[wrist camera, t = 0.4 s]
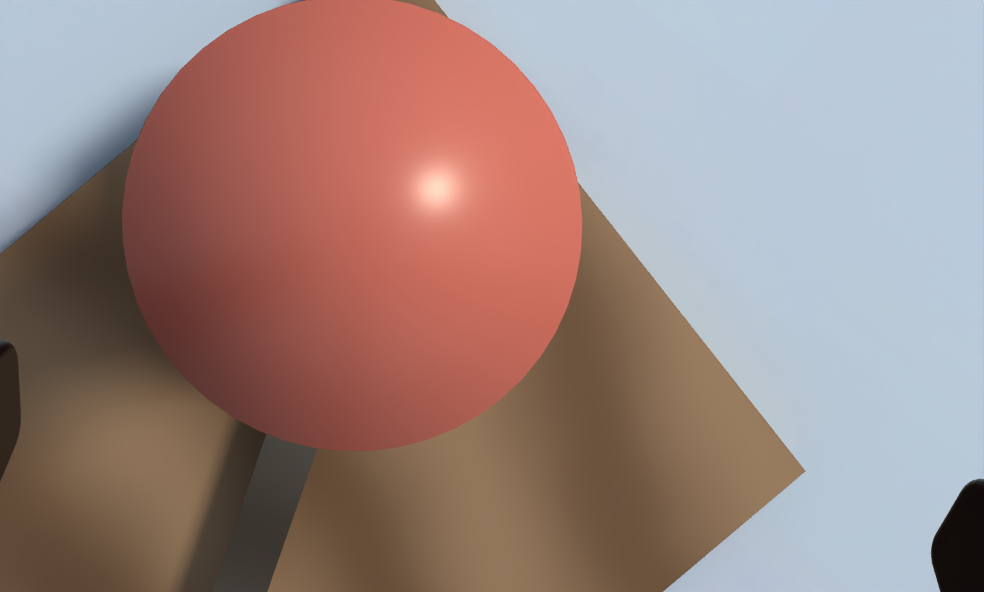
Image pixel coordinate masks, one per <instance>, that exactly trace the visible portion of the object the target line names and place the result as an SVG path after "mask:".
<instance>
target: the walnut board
mask: <svg viewBox="0 0 984 592" xmlns="http://www.w3.org/2000/svg"><path fill="white" fill-rule="evenodd" d="M304 1H305V0H304ZM394 1H399V2H405V3H409V4H412V5H415V6H418V7H421V8H424V9H427V10H430V11H433V12H436V13H439V14H441V15H443V16H445V17H447V16H446V14H445V13H444V12H443V10H442V9H441V8H440V7H439V5H438V4H437V3H436V2H435V0H394ZM447 18H448V17H447ZM136 142H137V140H136V141H135V142H134V143H133V144H132V145H131V146H129V147H128V148H127V149H126V150H125V151H123V152H122V153H121V154H120V155H119V156H117V157H116V158H115V159H114V160H113V161H111V162H110V163H109V164H108V165H107V166H105V167H104V168H103V169H102V170H101V171H99V172H98V173H97V174H96V175H95V176H93V177H92V178H91V179H90V180H89V181H87V182H86V183H85V184H84V185H83V186H81V187H80V188H79V189H78V190H77V191H75V192H74V193H73V194H72V195H71V196H69V197H68V198H67V199H66V200H65V201H63V202H62V203H61V204H60V205H59V206H57V207H56V208H55V209H54V210H53V211H51V212H50V213H49V214H48V215H47V216H45V217H44V218H43V219H42V220H41V221H39V222H38V223H37V224H36V225H35V226H33V227H32V228H31V229H30V230H29V231H27V232H26V233H25V234H24V235H23V236H21V237H20V238H19V239H18V240H17V241H16V242H14V243H13V244H12V245H11V246H10V247H8V248H7V249H6V250H5V251H4V252H2V253H1V254H0V340H6V341H9V342H10V343H11V344H12V345H13V346H14V347H15V349H16V352H17V355H18V367H19V386H20V405H21V425H20V431H19V436H18V440H17V443H16V446H15V448H14V451H13V453H12V455H11V458H10V460H9V463H8V465H7V467H6V470H5V472H4V475H3V477H2V479H1V482H0V592H663V591H664V590H665V589H667V588H668V587H669V586H670V585H671V584H672V583H674V582H675V581H676V580H677V579H678V578H680V577H681V576H682V575H683V574H684V573H686V572H687V571H688V570H689V569H690V568H691V567H693V566H694V565H695V564H696V563H697V562H699V561H700V560H701V559H702V558H703V557H704V556H706V555H707V554H708V553H709V552H710V551H712V550H713V549H714V548H715V547H716V546H717V545H719V544H720V543H721V542H722V541H723V540H725V539H726V538H727V537H728V536H729V535H731V534H732V533H733V532H734V531H735V530H736V529H738V528H739V527H740V526H741V525H742V524H744V523H745V522H746V521H747V520H748V519H749V518H751V517H752V516H753V515H754V514H755V513H757V512H758V511H759V510H760V509H761V508H762V507H764V506H765V505H766V504H767V503H768V502H770V501H771V500H772V499H773V498H774V497H776V496H777V495H778V494H779V493H780V492H781V491H783V490H784V489H785V488H786V487H787V486H789V485H790V484H791V483H792V482H793V481H794V480H796V479H797V478H798V477H799V476H800V475H802V474H803V473H804V472H805V470H804V469H803V467H802V466H801V465H800V464H799V462H798V461H797V460H796V458H795V457H794V456H793V455H792V453H791V452H790V451H789V450H788V448H787V447H786V446H785V445H784V443H783V442H782V441H781V439H780V438H779V437H778V436H777V434H776V433H775V432H774V431H773V429H772V428H771V427H770V425H769V424H768V423H767V422H766V420H765V419H764V418H763V417H762V415H761V414H760V413H759V412H758V410H757V409H756V408H755V406H754V405H753V404H752V403H751V401H750V400H749V399H748V398H747V396H746V395H745V394H744V392H743V391H742V390H741V389H740V387H739V386H738V385H737V384H736V382H735V381H734V380H733V379H732V377H731V376H730V375H729V373H728V372H727V371H726V370H725V368H724V367H723V366H722V365H721V363H720V362H719V361H718V360H717V358H716V357H715V356H714V354H713V353H712V352H711V351H710V349H709V348H708V347H707V346H706V344H705V343H704V342H703V340H702V339H701V338H700V337H699V335H698V334H697V333H696V332H695V330H694V329H693V328H692V327H691V325H690V324H689V323H688V321H687V320H686V319H685V318H684V316H683V315H682V314H681V313H680V311H679V310H678V309H677V307H676V306H675V305H674V304H673V302H672V301H671V300H670V299H669V297H668V296H667V295H666V294H665V292H664V291H663V290H662V288H661V287H660V286H659V285H658V283H657V282H656V281H655V280H654V278H653V277H652V276H651V274H650V273H649V272H648V271H647V269H646V268H645V267H644V266H643V264H642V263H641V262H640V261H639V259H638V258H637V257H636V255H635V254H634V253H633V252H632V250H631V249H630V248H629V247H628V245H627V244H626V243H625V241H624V240H623V239H622V238H621V236H620V235H619V234H618V233H617V231H616V230H615V229H614V228H613V226H612V225H611V224H610V222H609V221H608V220H607V219H606V217H605V216H604V215H603V214H602V212H601V211H600V210H599V208H598V207H597V206H596V205H595V203H594V202H593V201H592V200H591V198H590V197H589V196H588V195H587V193H586V192H585V191H584V189H583V188H582V187H581V186H580V184H579V183H578V186H579V191H580V199H581V211H582V242H581V254H580V260H579V266H578V271H577V277H576V281H575V284H574V287H573V291H572V294H571V297H570V300H569V304H568V307H567V309H566V311H565V313H564V315H563V318H562V320H561V322H560V324H559V326H558V329H557V331H556V333H555V334H554V336H553V338H552V339H551V341H550V342H549V344H548V346H547V347H546V349H545V350H544V352H543V354H542V355H541V357H540V358H539V359H538V360H537V362H536V363H535V364H534V365H533V367H532V368H531V369H530V370H529V371H528V373H527V374H526V375H525V376H524V378H523V379H522V380H521V381H520V382H519V383H518V384H516V385H515V386H514V387H513V388H512V389H511V390H510V391H509V392H508V393H507V394H506V395H505V396H504V397H503V398H502V399H500V400H499V401H498V402H496V403H495V404H494V405H492V406H491V407H489V408H488V409H487V410H485V411H484V412H483V413H481V414H480V415H478V416H477V417H475V418H473V419H471V420H469V421H468V422H466V423H464V424H462V425H460V426H459V427H457V428H455V429H453V430H450V431H448V432H445V433H443V434H441V435H438V436H436V437H433V438H431V439H428V440H425V441H421V442H417V443H413V444H409V445H406V446H402V447H396V448H389V449H382V450H374V451H337V450H328V449H320V448H312V447H308V446H304V445H300V444H296V443H292V442H288V441H284V440H282V439H279V438H276V437H274V436H271V435H269V434H266V433H263V432H261V431H258V430H256V429H254V428H252V427H250V426H249V425H247V424H245V423H243V422H241V421H239V420H237V419H236V418H234V417H232V416H230V415H229V414H228V413H226V412H225V411H223V410H222V409H221V408H219V407H218V406H216V405H215V404H214V403H212V402H211V401H209V400H208V399H207V398H206V397H204V396H203V395H202V394H201V393H200V392H199V391H198V390H197V389H196V388H195V387H194V386H193V385H192V384H190V383H189V382H188V381H187V380H186V379H185V378H184V377H183V375H182V374H181V373H180V372H179V371H178V369H177V368H176V367H175V366H174V365H173V363H172V362H171V361H170V360H169V359H168V357H167V356H166V355H165V353H164V352H163V350H162V349H161V347H160V345H159V344H158V342H157V341H156V339H155V337H154V336H153V334H152V333H151V331H150V330H149V327H148V325H147V323H146V321H145V319H144V316H143V314H142V312H141V310H140V308H139V306H138V303H137V301H136V298H135V294H134V291H133V288H132V285H131V281H130V278H129V275H128V271H127V265H126V258H125V252H124V246H123V228H122V207H123V199H124V190H125V181H126V177H127V173H128V169H129V165H130V161H131V157H132V153H133V150H134V147H135V145H136Z"/></svg>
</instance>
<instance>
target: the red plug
mask: <svg viewBox="0 0 984 592" xmlns="http://www.w3.org/2000/svg"><path fill="white" fill-rule="evenodd" d="M122 228H123V246H124V252H125V258H126V265H127V271H128V275H129V278H130V281H131V285H132V288H133V291H134V294H135V298H136V301H137V303H138V306H139V308H140V310H141V312H142V314H143V316H144V319H145V321H146V323H147V325H148V327H149V330H150V331H151V333H152V334H153V336H154V337H155V339H156V341H157V342H158V344H159V345H160V347H161V349H162V350H163V352H164V353H165V355H166V356H167V357H168V359H169V360H170V361H171V362H172V363H173V365H174V366H175V367H176V368H177V369H178V371H179V372H180V373H181V374H182V375H183V377H184V378H185V379H186V380H187V381H188V382H189V383H190V384H192V385H193V386H194V387H195V388H196V389H197V390H198V391H199V392H200V393H201V394H202V395H203V396H204V397H206V398H207V399H208V400H209V401H211V402H212V403H214V404H215V405H216V406H218V407H219V408H221V409H222V410H223V411H225V412H226V413H228V414H229V415H230V416H232V417H234V418H236V419H237V420H239V421H241V422H243V423H245V424H247V425H249V426H250V427H252V428H254V429H256V430H258V431H261V432H263V433H266V434H269V435H271V436H274V437H276V438H279V439H282V440H284V441H288V442H292V443H296V444H300V445H304V446H308V447H312V448H320V449H328V450H337V451H374V450H382V449H389V448H396V447H402V446H406V445H409V444H413V443H417V442H421V441H425V440H428V439H431V438H433V437H436V436H438V435H441V434H443V433H445V432H448V431H450V430H453V429H455V428H457V427H459V426H460V425H462V424H464V423H466V422H468V421H469V420H471V419H473V418H475V417H477V416H478V415H480V414H481V413H483V412H484V411H485V410H487V409H488V408H489V407H491V406H492V405H494V404H495V403H496V402H498V401H499V400H500V399H502V398H503V397H504V396H505V395H506V394H507V393H508V392H509V391H510V390H511V389H512V388H513V387H514V386H515V385H516V384H518V383H519V382H520V381H521V380H522V379H523V378H524V376H525V375H526V374H527V373H528V371H529V370H530V369H531V368H532V367H533V365H534V364H535V363H536V362H537V360H538V359H539V358H540V357H541V355H542V354H543V352H544V350H545V349H546V347H547V346H548V344H549V342H550V341H551V339H552V338H553V336H554V334H555V333H556V331H557V329H558V326H559V324H560V322H561V320H562V318H563V315H564V313H565V311H566V309H567V307H568V304H569V300H570V297H571V294H572V291H573V287H574V284H575V281H576V277H577V271H578V266H579V260H580V254H581V242H582V211H581V199H580V191H579V186H578V181H577V177H576V172H575V167H574V163H573V161H572V158H571V155H570V152H569V149H568V146H567V144H566V141H565V138H564V136H563V134H562V132H561V130H560V128H559V126H558V124H557V122H556V120H555V118H554V116H553V114H552V112H551V110H550V109H549V107H548V106H547V104H546V103H545V101H544V100H543V98H542V97H541V95H540V94H539V92H538V91H537V89H536V88H535V87H534V85H533V84H532V83H531V82H530V81H529V80H528V78H527V77H526V76H525V75H524V74H523V73H522V72H521V71H520V69H519V68H518V67H517V66H516V65H515V64H514V63H513V62H512V61H511V60H510V59H508V58H507V57H506V56H505V55H504V54H503V53H502V52H500V51H499V50H498V49H497V48H496V47H495V46H493V45H492V44H491V43H490V42H488V41H487V40H485V39H484V38H482V37H481V36H479V35H478V34H476V33H475V32H473V31H472V30H470V29H469V28H467V27H466V26H463V25H461V24H459V23H457V22H455V21H453V20H451V19H449V18H447V17H445V16H443V15H441V14H439V13H436V12H433V11H430V10H427V9H424V8H421V7H418V6H415V5H412V4H409V3H405V2H399V1H394V0H305V1H300V2H296V3H291V4H287V5H283V6H281V7H278V8H275V9H272V10H270V11H267V12H264V13H261V14H259V15H256V16H254V17H252V18H250V19H248V20H246V21H245V22H243V23H241V24H239V25H237V26H235V27H233V28H231V29H229V30H228V31H226V32H225V33H224V34H222V35H221V36H219V37H218V38H217V39H215V40H214V41H212V42H211V43H210V44H208V45H207V46H206V47H204V48H203V49H202V50H201V51H200V52H199V53H198V54H196V55H195V56H194V57H193V58H192V59H191V60H190V61H189V62H188V63H187V64H186V65H185V66H184V67H183V68H182V69H181V70H180V71H179V72H178V73H177V75H176V76H175V77H174V79H173V80H172V81H171V82H170V84H169V85H168V86H167V87H166V89H165V90H164V91H163V93H162V94H161V95H160V97H159V99H158V100H157V102H156V104H155V105H154V107H153V109H152V111H151V112H150V114H149V116H148V117H147V119H146V121H145V123H144V125H143V128H142V130H141V133H140V135H139V138H138V140H137V142H136V145H135V147H134V150H133V153H132V157H131V161H130V165H129V169H128V173H127V177H126V181H125V190H124V199H123V207H122Z"/></svg>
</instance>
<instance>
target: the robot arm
mask: <svg viewBox="0 0 984 592" xmlns="http://www.w3.org/2000/svg"><path fill="white" fill-rule="evenodd" d="M20 425H21V405H20V386H19V367H18V355H17V352H16V349H15V347H14V346H13V345H12V344H11V343H10V342H9V341H6V340H0V482H1V479H2V477H3V475H4V472H5V470H6V467H7V465H8V463H9V460H10V458H11V455H12V453H13V451H14V448H15V446H16V443H17V440H18V436H19V431H20ZM931 558H932V564H933V568H934V572H935V575H936V578H937V582H938V585H939V589H940V592H984V479H976V480H972V481H971V482H969V483H968V484H967V485H965V486H964V488H963V489H962V491H961V492H960V494H959V496H958V497H957V499H956V501H955V502H954V504H953V506H952V507H951V509H950V511H949V513H948V514H947V516H946V518H945V519H944V521H943V523H942V524H941V526H940V528H939V529H938V531H937V533H936V535H935V537H934V539H933V543H932V548H931Z"/></svg>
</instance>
